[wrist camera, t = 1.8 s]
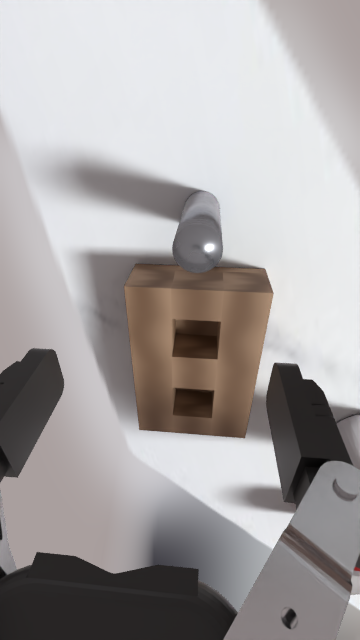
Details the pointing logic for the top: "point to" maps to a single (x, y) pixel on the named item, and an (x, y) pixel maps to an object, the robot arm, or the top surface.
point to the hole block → (196, 346)
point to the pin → (199, 234)
